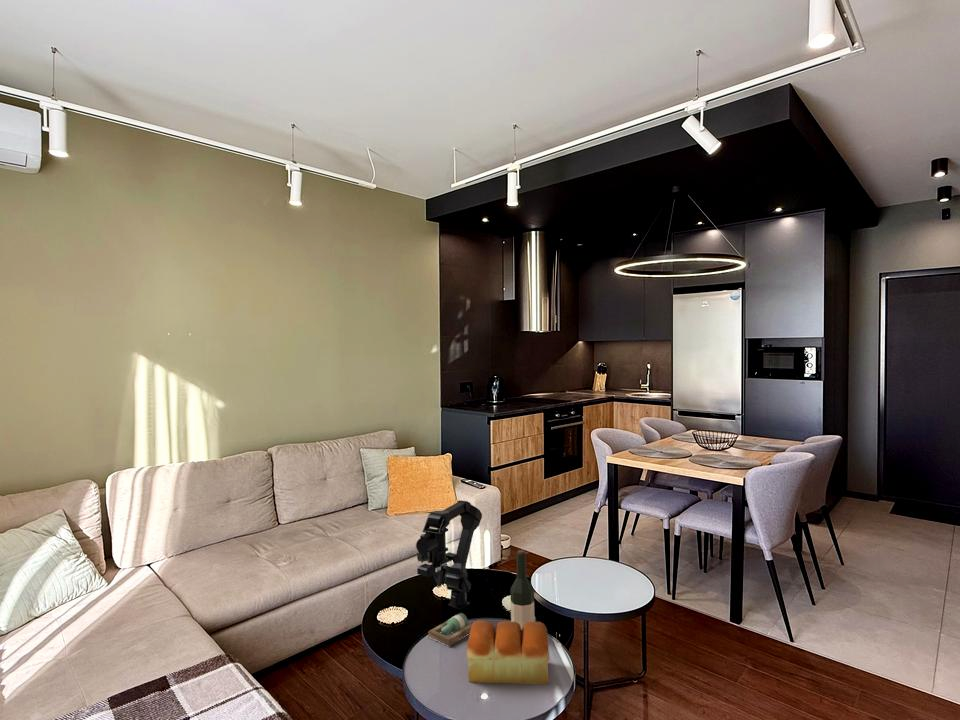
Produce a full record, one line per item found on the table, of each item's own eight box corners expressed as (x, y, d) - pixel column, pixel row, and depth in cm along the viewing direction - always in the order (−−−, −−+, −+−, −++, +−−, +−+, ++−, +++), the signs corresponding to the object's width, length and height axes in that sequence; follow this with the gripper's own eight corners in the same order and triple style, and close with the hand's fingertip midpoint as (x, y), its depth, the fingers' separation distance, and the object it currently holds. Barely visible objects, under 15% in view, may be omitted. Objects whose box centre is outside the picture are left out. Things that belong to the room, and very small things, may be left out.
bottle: (456, 611, 195) (437, 621, 188) (467, 614, 192) (449, 625, 184) (457, 626, 195) (438, 637, 187) (468, 630, 192) (450, 641, 184)
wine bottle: (534, 630, 190) (532, 547, 191) (535, 642, 182) (532, 555, 183) (511, 630, 191) (510, 547, 192) (511, 641, 183) (509, 555, 184)
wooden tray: (455, 622, 198) (455, 616, 198) (476, 630, 191) (476, 623, 191) (428, 638, 187) (428, 631, 187) (449, 647, 180) (449, 639, 180)
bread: (548, 662, 170) (547, 616, 170) (549, 685, 157) (548, 635, 158) (471, 660, 172) (470, 614, 172) (467, 683, 160) (466, 633, 160)
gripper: (438, 535, 214) (439, 573, 214) (406, 549, 199) (407, 590, 199) (459, 540, 207) (460, 579, 207) (427, 554, 192) (429, 597, 192)
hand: (439, 586), depth 201 cm, fingers closed
